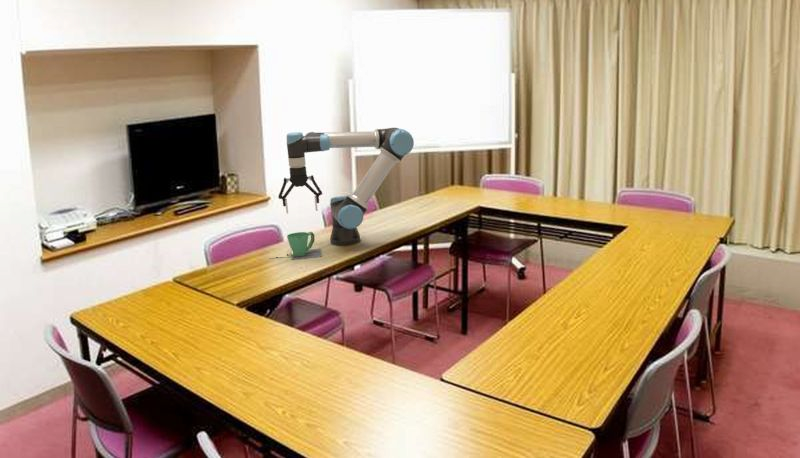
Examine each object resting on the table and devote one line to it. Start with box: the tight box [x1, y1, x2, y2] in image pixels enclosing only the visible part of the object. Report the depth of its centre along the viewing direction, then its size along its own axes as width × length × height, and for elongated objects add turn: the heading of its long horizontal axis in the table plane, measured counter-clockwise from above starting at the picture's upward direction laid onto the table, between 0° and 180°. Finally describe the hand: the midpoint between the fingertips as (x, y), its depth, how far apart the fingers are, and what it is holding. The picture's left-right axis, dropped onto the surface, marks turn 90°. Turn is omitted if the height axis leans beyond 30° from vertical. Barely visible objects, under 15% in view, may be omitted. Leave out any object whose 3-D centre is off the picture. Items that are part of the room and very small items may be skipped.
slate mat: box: [290, 248, 323, 261], centre depth 324 cm, size 14×14×1 cm
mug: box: [286, 231, 316, 257], centre depth 323 cm, size 15×10×10 cm
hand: (302, 211), depth 319 cm, fingers open, 13 cm apart
